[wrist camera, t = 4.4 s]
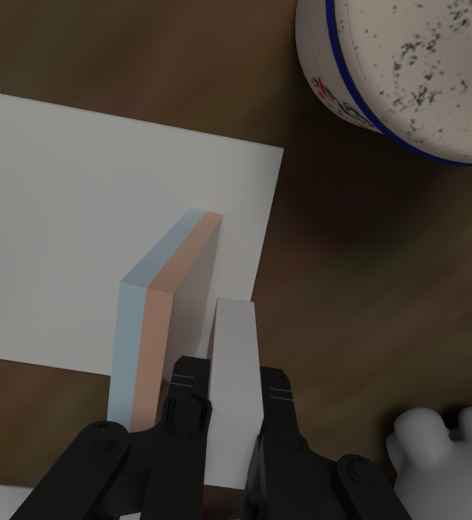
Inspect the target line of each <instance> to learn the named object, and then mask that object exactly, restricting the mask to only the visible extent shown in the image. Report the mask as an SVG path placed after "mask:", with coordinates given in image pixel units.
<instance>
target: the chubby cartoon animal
mask: <svg viewBox="0 0 472 520" xmlns="http://www.w3.org/2000/svg"><path fill="white" fill-rule="evenodd" d="M458 425H459V427H457V428H453V429H450V430H449V429H448V428H446V427H445V425H444V422H443V420H442V418H441V417H440V415H439V414H438V413H437V412H435V411H434V410H432V409H429V408H423V407H418V408H413V409H410V410H407V411H405V412H403V413H402V414H400V415H399V416H398V417H397V418H396V419H395V421H394V430H395V432H393V433H392V434H390V435H389V436H388V437H387V440H386V446H387V451H388V454H389V457H390V460H391V462H392V464H393V466H394V468H395V470H396V471H397V473H398V476H397V479H396V482H395V485H394V491H395V493H396V495H397V496H398V498H399V499H400V501H401V502H402V504H403V506H404V507H405V509H406V510H407V512H408V513H409V515H410V517H411V518H412V520H472V406H470V407H467V408H464V409H463V410H461V411H460V412H459V414H458Z"/></svg>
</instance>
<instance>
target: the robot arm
mask: <svg viewBox="0 0 472 520" xmlns="http://www.w3.org/2000/svg"><path fill="white" fill-rule="evenodd" d="M247 478H248V493H247V497H246V501H245V504H244V508H243V512H242V515H241V519H240V520H412V518H411V517H410V515H409V513H408V512H407V510H406V509H405V507H404V506H403V504H402V502H401V501H400V499H399V498H398V496H397V495H396V493H395V491H394V490H393V488H392V487H391V485H390V483H389V482H388V480H387V479H386V477H385V476H384V474H383V472H382V471H381V470H380V469H379V468H378V467H377V465H376V464H374V463H373V462H371V461H370V460H369V459H367V458H365V457H362V456H360V455H354V454H348V455H344V456H342V457H341V458H340V459H339V460H338V461H337V462H334V461H332V460H330V459H327V458H325V457H322V456H320V455H318V454H316V453H315V452H313V451H312V450H311V449H309V446H308V444H307V441H306V439H305V438H304V437H303V436H302V435H301V434H300V433H299V430H298V424H297V419H296V414H295V408H294V403H293V397H292V392H291V386H290V381H289V379H288V377H287V376H286V375H285V373H284V372H283V371H282V370H281V369H275V368H268V367H262V366H259V356H258V345H257V333H256V322H255V311H254V302H249V301H243V300H237V299H231V298H225V297H219V296H218V297H217V303H216V308H215V313H214V318H213V324H212V329H211V334H210V339H209V344H208V350H207V357H206V359H204V358H197V357H191V356H184V355H182V356H181V357H180V358H179V359H178V360H177V361H176V362H175V363H174V368H173V372H172V377H171V381H170V386H169V391H168V395H167V396H166V398H165V400H164V402H163V409H162V415H161V420H160V421H159V423H158V424H156V425H155V426H154V427H152V428H150V429H147V430H144V431H140V432H132V433H129V432H128V430H127V429H126V428H125V427H124V426H123V425H121V424H119V423H117V422H113V421H98V422H95V423H93V424H90V425H88V426H87V427H85V428H84V429H83V430H82V431H81V432H80V433H79V434H78V435H77V437H76V438H75V439H74V440H73V442H72V443H71V444H70V445H69V447H68V448H67V449H66V450H65V452H64V453H63V454H62V455H61V456H60V458H59V459H58V460H57V461H56V463H55V464H54V465H53V466H52V468H51V469H50V470H49V471H48V473H47V474H46V475H45V476H44V477H43V479H42V480H41V481H40V482H39V484H38V485H37V486H36V487H35V489H34V490H33V491H32V492H31V494H30V495H29V496H28V497H27V498H26V500H25V501H24V502H23V503H22V505H21V506H20V507H19V508H18V510H17V511H16V512H15V513H14V515H13V516H12V517H11V518H10V519H9V520H119V519H120V516H123V515H128V514H133V513H139V512H141V516H140V520H201V517H202V503H203V490H204V484H206V485H214V486H221V487H229V488H236V489H245V485H246V481H247Z"/></svg>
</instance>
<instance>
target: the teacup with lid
mask: <svg viewBox="0 0 472 520" xmlns="http://www.w3.org/2000/svg"><path fill="white" fill-rule="evenodd" d="M295 37H296V46H297V52H298V57H299V61H300V64H301V67H302V70H303V72H304V75H305V77H306V79H307V81H308V83H309V85H310V87H311V88H312V90H313V91H314V93H315V94H316V96H317V97H318V98H319V99H320V101H321V102H322V103H323V104H324V105H325V106H326V107H327V108H328V109H330V110H331V111H332V112H333V113H334V114H336V115H337V116H339V117H340V118H342V119H344V120H346V121H348V122H350V123H352V124H355V125H357V126H360V127H363V128H366V129H369V130H372V131H375V132H378V133H381V134H384V135H385V136H386V137H388V138H389V139H391V140H392V141H393V142H395V143H396V144H398V145H399V146H401V147H403V148H405V149H407V150H409V151H410V152H412V153H414V154H417V155H419V156H422V157H425V158H427V159H430V160H434V161H438V162H441V163H446V164H452V165H459V166H472V0H298V3H297V9H296V19H295Z"/></svg>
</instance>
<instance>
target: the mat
mask: <svg viewBox="0 0 472 520" xmlns="http://www.w3.org/2000/svg"><path fill="white" fill-rule="evenodd" d="M283 151H284V149H283V148H281V147H276V146H271V145H265V144H260V143H255V142H250V141H245V140H239V139H234V138H229V137H224V136H218V135H213V134H208V133H203V132H198V131H192V130H187V129H182V128H177V127H172V126H166V125H161V124H156V123H151V122H146V121H140V120H135V119H130V118H125V117H119V116H114V115H109V114H104V113H99V112H93V111H88V110H83V109H78V108H73V107H67V106H62V105H57V104H52V103H46V102H41V101H36V100H31V99H26V98H20V97H15V96H10V95H5V94H0V359H5V360H12V361H18V362H25V363H31V364H38V365H45V366H51V367H58V368H64V369H71V370H77V371H84V372H90V373H97V374H104V375H110V376H111V371H112V360H113V349H114V339H115V328H116V317H117V306H118V296H119V285H120V281H121V280H122V279H123V278H124V277H125V276H126V275H127V274H128V273H129V272H130V271H131V270H132V269H133V268H134V267H135V265H136V264H137V263H138V262H139V261H140V260H141V259H142V258H143V257H144V256H145V255H146V254H147V253H148V252H149V251H150V250H151V249H152V248H153V247H154V246H155V244H156V243H157V242H158V241H159V240H160V239H161V238H162V237H163V236H164V235H165V234H166V233H167V232H168V231H169V230H170V229H171V228H172V227H173V226H174V225H175V223H176V222H177V221H178V220H179V219H180V218H181V217H182V216H183V215H184V214H185V213H186V212H187V211H188V210H189V209H190V208H194V209H199V210H203V211H208V212H212V213H217V214H222V215H223V217H222V222H221V228H220V233H219V239H218V245H217V250H216V256H215V261H214V267H213V272H212V278H211V283H210V289H209V294H208V300H207V306H206V311H205V317H204V322H203V328H202V333H201V339H200V341H199V344H198V346H197V349H196V351H195V354H194V356H193V357H197V358H204V359H206V357H207V350H208V344H209V339H210V334H211V329H212V324H213V318H214V313H215V308H216V303H217V297H218V296H219V297H225V298H231V299H237V300H243V301H249V302H250V300H251V295H252V291H253V286H254V282H255V277H256V273H257V268H258V264H259V259H260V255H261V250H262V246H263V241H264V236H265V232H266V227H267V223H268V218H269V214H270V209H271V205H272V200H273V196H274V191H275V187H276V182H277V178H278V173H279V169H280V164H281V160H282V155H283Z"/></svg>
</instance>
